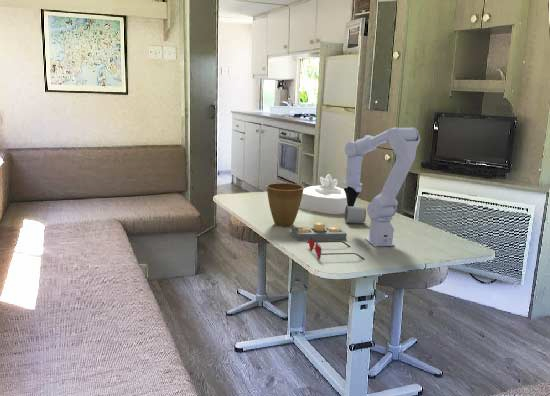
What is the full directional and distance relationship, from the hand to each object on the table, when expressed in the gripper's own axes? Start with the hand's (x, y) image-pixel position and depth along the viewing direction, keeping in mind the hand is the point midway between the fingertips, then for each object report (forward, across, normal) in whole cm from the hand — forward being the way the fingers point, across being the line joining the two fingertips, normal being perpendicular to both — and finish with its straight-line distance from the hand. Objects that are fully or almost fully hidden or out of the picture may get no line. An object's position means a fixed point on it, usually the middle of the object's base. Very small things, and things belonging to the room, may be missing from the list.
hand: (350, 206), depth 201 cm
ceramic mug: (+10, +12, -6) cm, 17 cm away
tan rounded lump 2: (+10, -8, +9) cm, 15 cm away
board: (+10, -6, +15) cm, 19 cm away
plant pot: (+10, +9, +25) cm, 28 cm away
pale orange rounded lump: (+10, -8, +21) cm, 24 cm away
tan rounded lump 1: (+8, -8, +15) cm, 19 cm away
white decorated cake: (+10, +40, -3) cm, 41 cm away
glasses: (+11, -28, +15) cm, 33 cm away
